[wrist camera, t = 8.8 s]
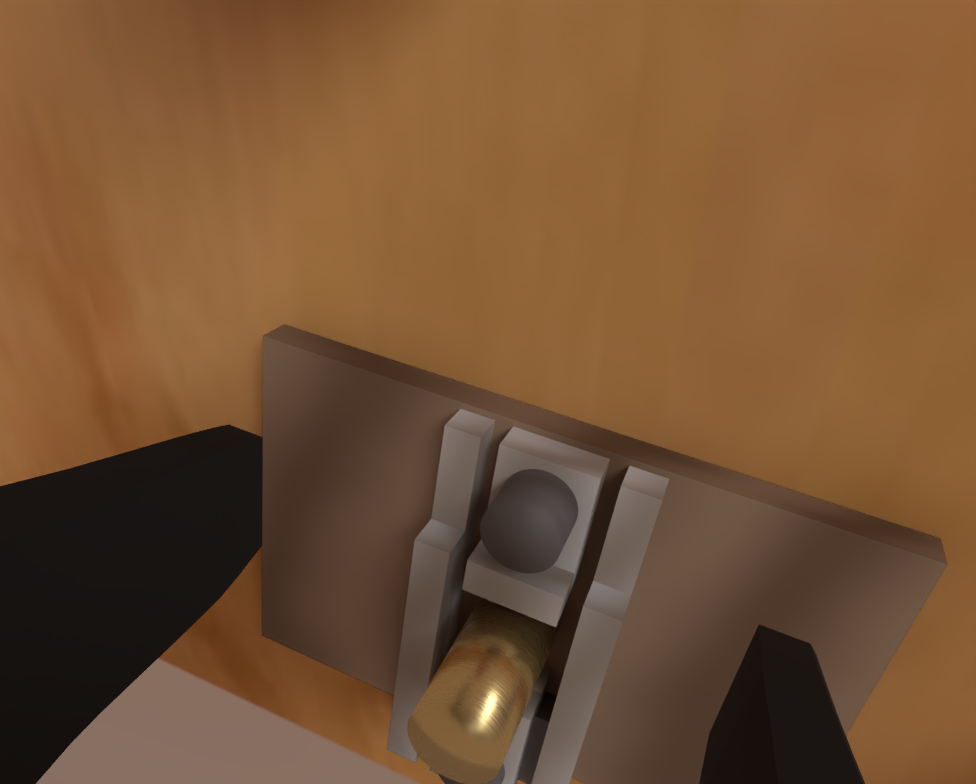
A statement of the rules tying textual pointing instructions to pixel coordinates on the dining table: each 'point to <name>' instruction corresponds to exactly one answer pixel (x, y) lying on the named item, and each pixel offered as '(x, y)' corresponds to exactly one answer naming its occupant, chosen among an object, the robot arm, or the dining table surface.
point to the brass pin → (480, 693)
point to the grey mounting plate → (554, 561)
